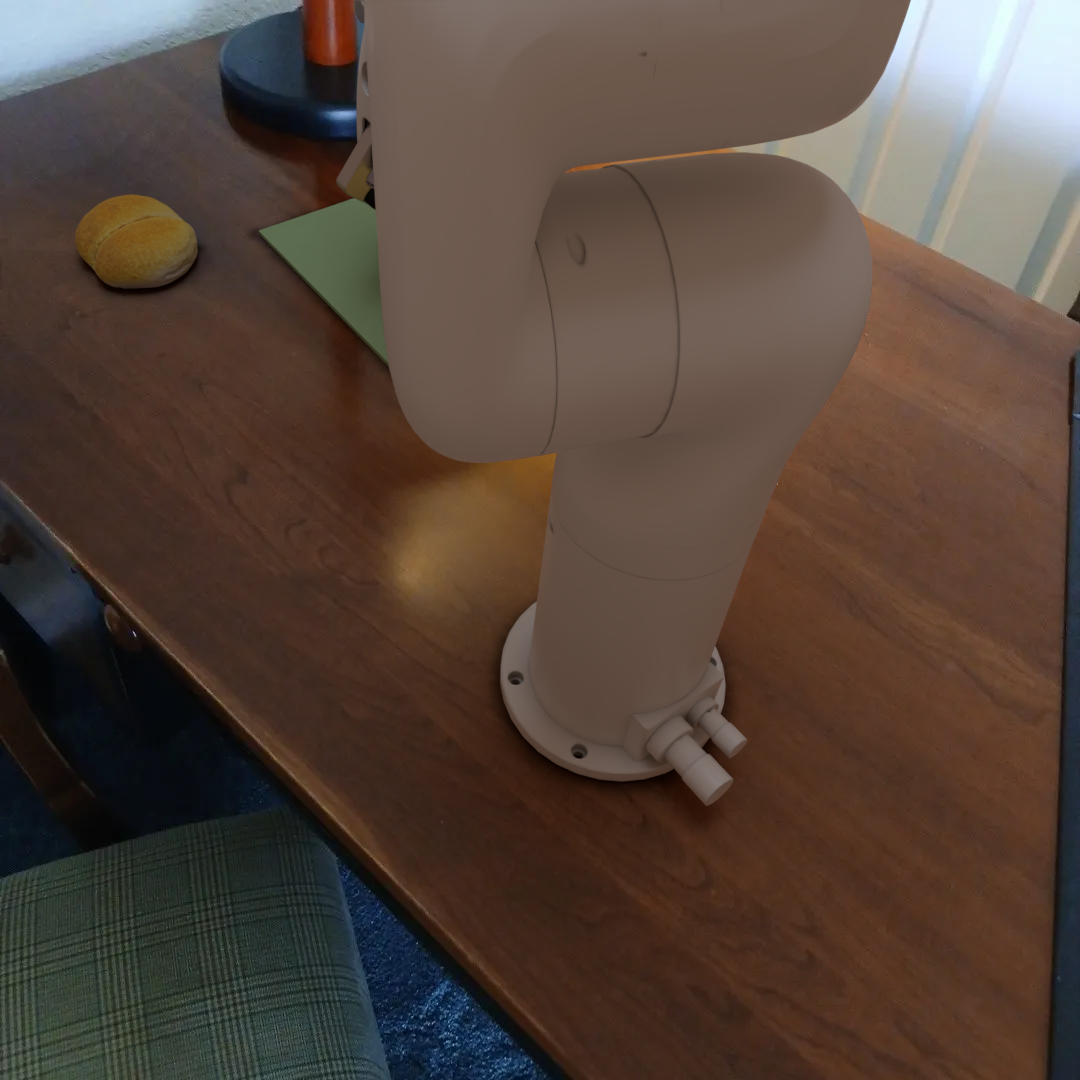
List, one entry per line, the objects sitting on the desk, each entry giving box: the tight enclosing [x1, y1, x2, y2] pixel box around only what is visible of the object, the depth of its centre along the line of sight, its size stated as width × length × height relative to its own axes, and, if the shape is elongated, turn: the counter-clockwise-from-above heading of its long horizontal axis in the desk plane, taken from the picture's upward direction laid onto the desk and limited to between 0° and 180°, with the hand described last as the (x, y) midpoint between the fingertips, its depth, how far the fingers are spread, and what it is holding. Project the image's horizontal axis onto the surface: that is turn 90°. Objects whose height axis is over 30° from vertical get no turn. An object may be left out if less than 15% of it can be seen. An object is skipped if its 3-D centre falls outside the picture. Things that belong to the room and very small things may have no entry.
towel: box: [258, 197, 389, 368], centre depth 82 cm, size 22×18×1 cm
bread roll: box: [74, 193, 199, 289], centre depth 79 cm, size 8×9×4 cm
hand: (431, 243), depth 80 cm, fingers closed on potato, 5 cm apart
